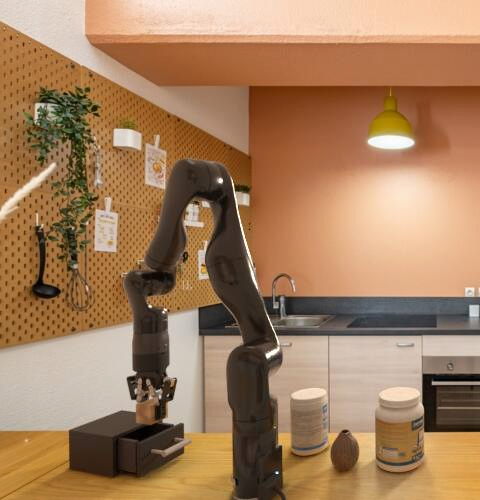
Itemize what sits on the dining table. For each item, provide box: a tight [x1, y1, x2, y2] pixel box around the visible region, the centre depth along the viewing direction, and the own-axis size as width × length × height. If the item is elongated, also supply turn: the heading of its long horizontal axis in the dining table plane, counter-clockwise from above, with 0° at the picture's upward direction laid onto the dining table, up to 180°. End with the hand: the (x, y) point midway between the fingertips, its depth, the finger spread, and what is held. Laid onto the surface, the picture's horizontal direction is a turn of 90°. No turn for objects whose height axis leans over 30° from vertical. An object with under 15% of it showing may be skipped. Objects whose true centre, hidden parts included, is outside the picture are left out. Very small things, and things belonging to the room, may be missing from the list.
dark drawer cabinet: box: [68, 409, 164, 478], centre depth 103 cm, size 15×13×10 cm
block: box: [135, 397, 169, 425], centre depth 100 cm, size 5×5×5 cm
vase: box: [329, 428, 360, 472], centre depth 99 cm, size 7×7×9 cm
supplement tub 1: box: [289, 387, 329, 457], centre depth 108 cm, size 10×10×15 cm
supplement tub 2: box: [374, 386, 425, 473], centre depth 101 cm, size 12×12×17 cm
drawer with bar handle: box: [116, 422, 193, 478], centre depth 100 cm, size 18×11×8 cm, turn 74°
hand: (152, 417), depth 100 cm, fingers closed on block, 4 cm apart
